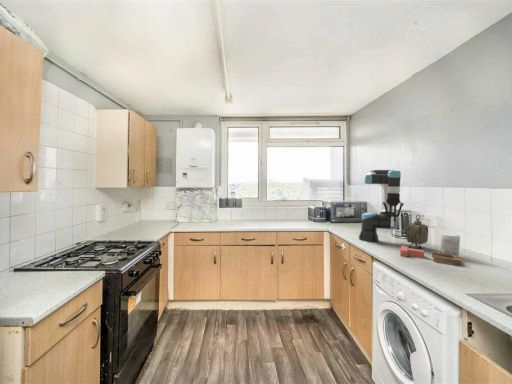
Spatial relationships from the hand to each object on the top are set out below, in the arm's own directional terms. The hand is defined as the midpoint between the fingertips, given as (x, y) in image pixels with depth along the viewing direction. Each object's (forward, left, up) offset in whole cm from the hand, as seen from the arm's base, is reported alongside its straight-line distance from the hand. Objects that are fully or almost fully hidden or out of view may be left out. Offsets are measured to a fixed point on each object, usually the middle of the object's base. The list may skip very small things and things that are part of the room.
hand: (392, 226), depth 160 cm
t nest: (0, +30, -18) cm, 35 cm away
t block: (0, +12, -19) cm, 22 cm away
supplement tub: (-14, +33, -19) cm, 40 cm away
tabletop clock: (-25, +15, -19) cm, 35 cm away
